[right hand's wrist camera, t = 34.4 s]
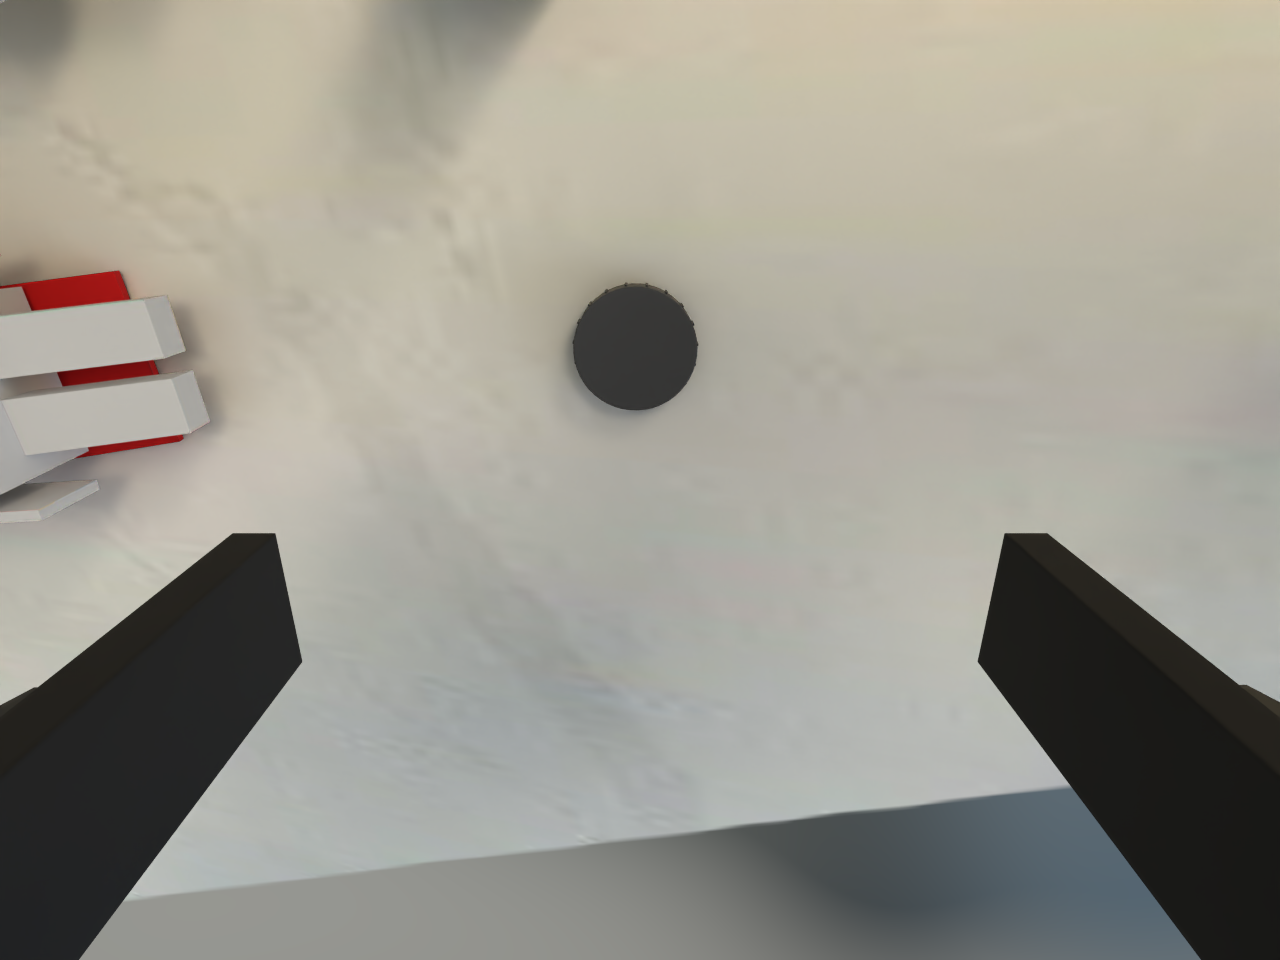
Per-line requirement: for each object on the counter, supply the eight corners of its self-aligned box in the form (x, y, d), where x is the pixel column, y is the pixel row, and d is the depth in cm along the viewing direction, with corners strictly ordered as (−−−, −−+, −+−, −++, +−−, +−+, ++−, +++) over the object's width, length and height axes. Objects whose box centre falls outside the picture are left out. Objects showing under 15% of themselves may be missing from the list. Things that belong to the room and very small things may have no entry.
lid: (670, 420, 39) (672, 428, 37) (559, 381, 38) (555, 387, 36) (714, 308, 36) (717, 312, 35) (596, 264, 36) (595, 266, 34)
